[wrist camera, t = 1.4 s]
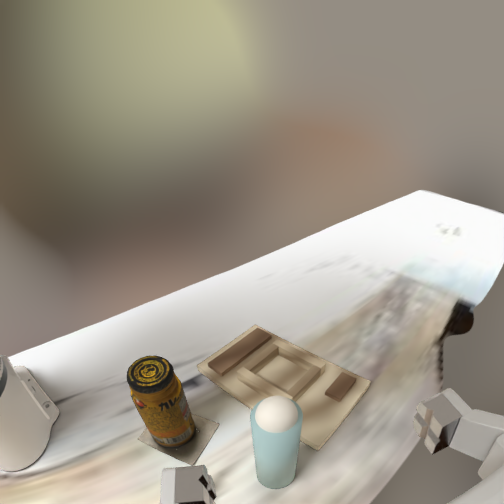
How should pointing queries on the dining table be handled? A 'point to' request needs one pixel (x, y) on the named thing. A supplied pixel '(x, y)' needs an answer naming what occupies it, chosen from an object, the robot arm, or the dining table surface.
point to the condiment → (167, 410)
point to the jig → (286, 380)
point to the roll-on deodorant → (276, 440)
